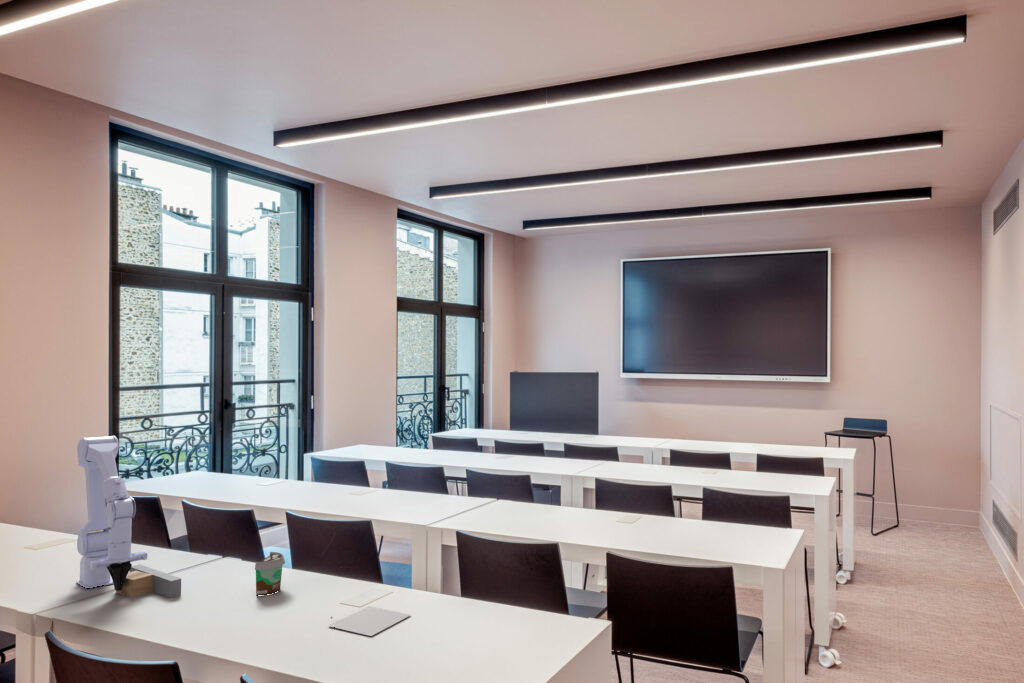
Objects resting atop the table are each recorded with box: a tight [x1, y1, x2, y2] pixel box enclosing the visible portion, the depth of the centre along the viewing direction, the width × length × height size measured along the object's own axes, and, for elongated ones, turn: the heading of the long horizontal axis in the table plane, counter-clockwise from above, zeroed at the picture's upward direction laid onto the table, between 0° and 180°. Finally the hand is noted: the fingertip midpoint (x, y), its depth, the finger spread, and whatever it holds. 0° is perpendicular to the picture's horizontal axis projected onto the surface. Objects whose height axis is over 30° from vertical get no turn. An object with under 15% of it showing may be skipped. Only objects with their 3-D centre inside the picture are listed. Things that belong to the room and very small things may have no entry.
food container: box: [254, 551, 286, 596], centre depth 205 cm, size 12×6×10 cm, turn 179°
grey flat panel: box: [329, 605, 411, 637], centre depth 187 cm, size 23×25×1 cm
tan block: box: [115, 571, 153, 598], centre depth 203 cm, size 8×6×5 cm
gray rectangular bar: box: [128, 563, 182, 599], centre depth 206 cm, size 24×3×5 cm, turn 54°
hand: (118, 589), depth 199 cm, fingers closed
